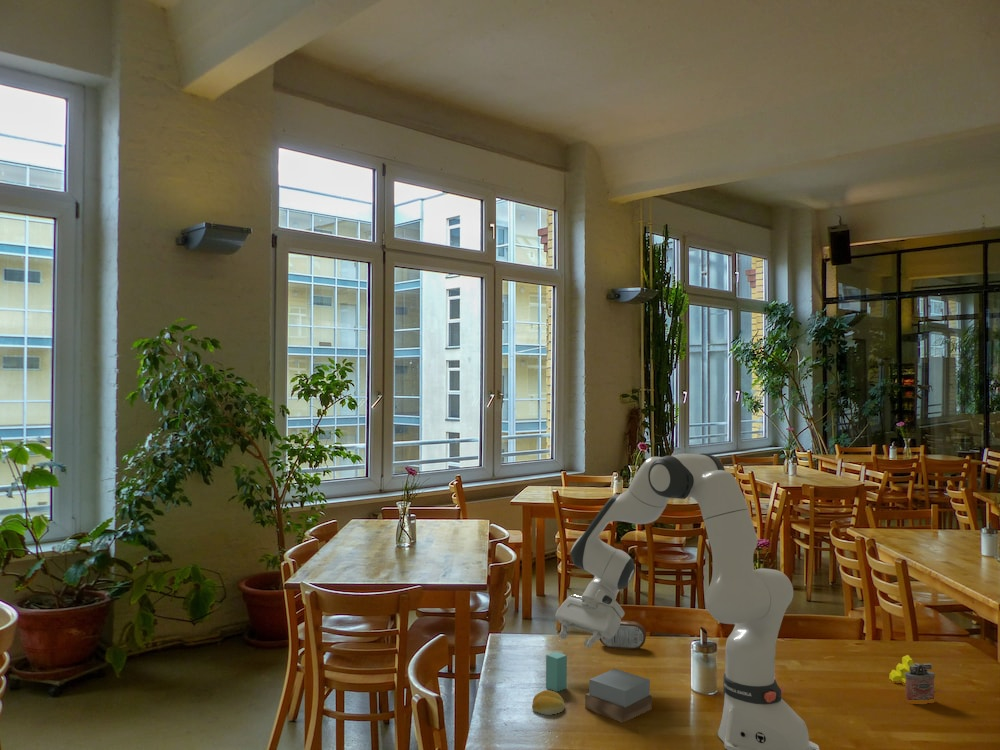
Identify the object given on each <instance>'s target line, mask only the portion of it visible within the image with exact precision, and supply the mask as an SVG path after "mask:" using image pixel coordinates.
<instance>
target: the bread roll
mask: <svg viewBox="0 0 1000 750" xmlns="http://www.w3.org/2000/svg"><path fill="white" fill-rule="evenodd" d="M531 705H532V706H531V709H532V710H533V712H535V713H537V712H538V713H537V714H539V713H541V714H540V715H543V714H544V715H543V716H553V715H552V714H555V715H558V714H561V713H562V712H564V710H565V706H566V705H565V701H564V699H563V697H562V696H561V695H560V693H558V692H555V691H552V690H549V689H548V690H543V691H542V690H541V691H540V692H538V693H536V694H535V696H534V697H533V699H532V704H531ZM560 712H561V713H560ZM557 713H558V714H557Z"/></svg>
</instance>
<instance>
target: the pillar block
mask: <svg viewBox="0 0 1000 750" xmlns="http://www.w3.org/2000/svg"><path fill="white" fill-rule="evenodd" d="M567 677H568V655H566V654H564V653H561V652H559V651H554V652H551V653H547V654H546V655H545V688H546V689H547V688H549V689H548V690H550V689H551V690H550V691H552V690H553V691H554V692H555V691H556V693H558V692H557V691H559V692H561V691H563V689H564V690H566V689H567V688H568V687H567V684H568V683H567V681H568V679H567ZM560 690H561V691H560Z"/></svg>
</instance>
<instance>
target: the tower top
mask: <svg viewBox="0 0 1000 750" xmlns="http://www.w3.org/2000/svg"><path fill="white" fill-rule="evenodd" d="M650 681H651V679H649V678H646V677H643V676H639V675H637V674H633V673H629V672H627V671H624V670H621V669H617V668H612V669H610V670H608V671H606V672H603V673H601V674H599V675H597V676H594V677H592V678H589V685H588V686H589V687H588V688H589V689H588V690H589V691H588V693H589V695H591V696H593V697H596V698H599V699H602V700H605V701H608V702H611V703H614V704H616V705H619V706H622V707H627V706H629V705H631V704H633V703H635V702H637V701H639V700H641V699H643V698H645V697H647V696H649V695H651V691H650V689H651V688H650V687H651V686H650V684H651V683H650Z"/></svg>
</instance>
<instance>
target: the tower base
mask: <svg viewBox="0 0 1000 750" xmlns="http://www.w3.org/2000/svg"><path fill="white" fill-rule="evenodd" d="M584 695H585V696H584V708H585V709H586V708H587V710H589V709H590V711H591V710H592V711H591V712H594V713H597V714H599V715H601V714H602V716H604V717H607V718H608V717H609V718H608V719H611V720H613V719H614V721H616V720H617V721H616V722H618V721H619V723H621V722H622V724H623V722H624V723H625V721H626V722H628V721H630V720H632V719H635V718H637V717H639V716H641V715H643V714H645V713H647V711H648V712H649V710H650V711H652V708H653V707H652V703H653V702H652V701H653V700H652V698H653V697H652V695H651V694H650V695H649V696H647V697H645V698H643V699H641V700H639V701H637V702H635V703H633V704H631V705H629V706H627V707H622V706H619V705H616V704H614V703H611V702H608V701H605V700H602V699H599V698H596V697H593V696H591V695H589V692H587V693H585V694H584ZM642 713H643V714H642ZM640 714H641V715H640ZM638 715H639V716H638ZM636 716H637V717H636ZM634 717H635V718H634ZM631 718H632V719H631ZM629 719H630V720H629ZM627 720H628V721H627Z"/></svg>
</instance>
